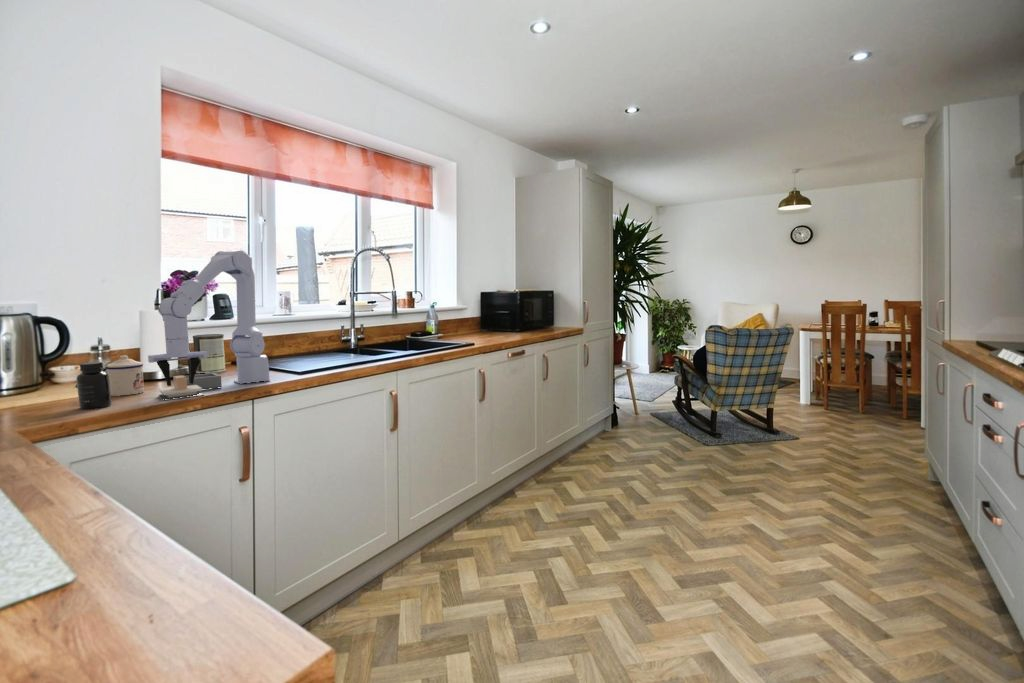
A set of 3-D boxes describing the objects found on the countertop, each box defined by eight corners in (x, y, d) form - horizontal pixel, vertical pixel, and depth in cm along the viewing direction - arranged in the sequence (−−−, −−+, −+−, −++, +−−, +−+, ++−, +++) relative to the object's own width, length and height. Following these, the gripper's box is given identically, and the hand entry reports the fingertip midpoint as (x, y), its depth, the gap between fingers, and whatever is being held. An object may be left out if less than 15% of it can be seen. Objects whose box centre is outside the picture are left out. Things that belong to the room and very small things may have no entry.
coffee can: (188, 373, 198) (186, 336, 196) (207, 369, 208) (204, 333, 206) (214, 373, 196) (211, 336, 195) (231, 369, 207) (229, 333, 205)
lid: (196, 390, 161) (195, 373, 161) (202, 393, 156) (201, 376, 155) (159, 394, 155) (158, 377, 154) (164, 398, 149) (162, 380, 149)
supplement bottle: (91, 404, 144) (87, 361, 143) (117, 403, 145) (113, 360, 144) (72, 410, 138) (68, 364, 136) (100, 409, 138) (96, 364, 137)
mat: (197, 391, 162) (196, 390, 162) (203, 395, 155) (203, 394, 155) (158, 395, 155) (158, 394, 155) (163, 400, 149) (163, 399, 149)
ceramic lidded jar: (141, 395, 157) (138, 356, 156) (104, 397, 153) (100, 358, 152) (150, 388, 168) (147, 352, 167) (115, 390, 164) (112, 353, 163)
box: (215, 384, 173) (214, 372, 173) (221, 388, 167) (220, 375, 167) (180, 388, 166) (179, 376, 166) (185, 392, 160) (184, 379, 160)
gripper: (149, 341, 146) (153, 389, 147) (208, 337, 156) (211, 383, 157) (145, 339, 151) (149, 386, 152) (202, 336, 161) (205, 380, 162)
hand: (180, 384), depth 155 cm, fingers open, 5 cm apart
